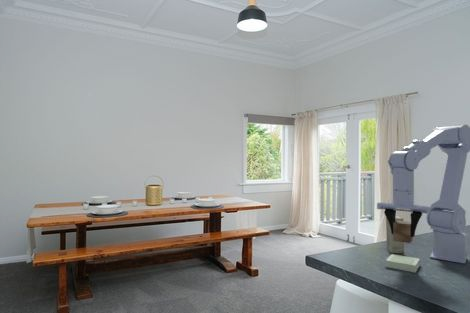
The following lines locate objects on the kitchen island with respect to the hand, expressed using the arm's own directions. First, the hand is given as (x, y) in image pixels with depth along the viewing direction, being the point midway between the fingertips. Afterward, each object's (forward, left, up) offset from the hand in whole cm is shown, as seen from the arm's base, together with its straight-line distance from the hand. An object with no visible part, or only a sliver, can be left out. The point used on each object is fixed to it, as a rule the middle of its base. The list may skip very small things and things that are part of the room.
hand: (402, 234), depth 99 cm
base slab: (0, 0, -10) cm, 10 cm away
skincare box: (+5, -16, -10) cm, 20 cm away
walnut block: (0, 0, -2) cm, 2 cm away
